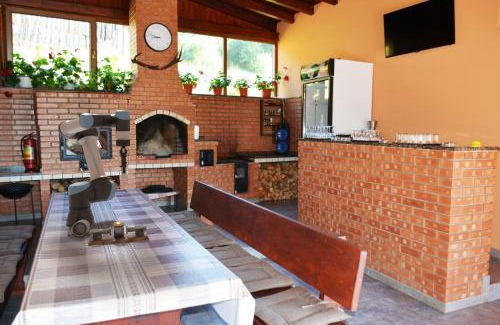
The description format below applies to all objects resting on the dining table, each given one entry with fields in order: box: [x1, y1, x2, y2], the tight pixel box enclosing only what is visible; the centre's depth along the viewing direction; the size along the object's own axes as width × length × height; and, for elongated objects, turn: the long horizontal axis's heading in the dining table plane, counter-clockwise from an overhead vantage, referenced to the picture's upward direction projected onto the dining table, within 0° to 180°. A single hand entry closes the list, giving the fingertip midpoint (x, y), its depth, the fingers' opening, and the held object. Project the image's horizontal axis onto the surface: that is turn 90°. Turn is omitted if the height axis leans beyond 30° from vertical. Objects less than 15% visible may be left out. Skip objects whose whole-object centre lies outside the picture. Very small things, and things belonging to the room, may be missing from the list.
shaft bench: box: [87, 224, 150, 246], centre depth 195 cm, size 28×11×7 cm, turn 110°
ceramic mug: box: [67, 220, 91, 237], centre depth 204 cm, size 11×8×8 cm
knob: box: [112, 221, 125, 238], centre depth 195 cm, size 5×5×7 cm
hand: (123, 177), depth 215 cm, fingers open, 13 cm apart
